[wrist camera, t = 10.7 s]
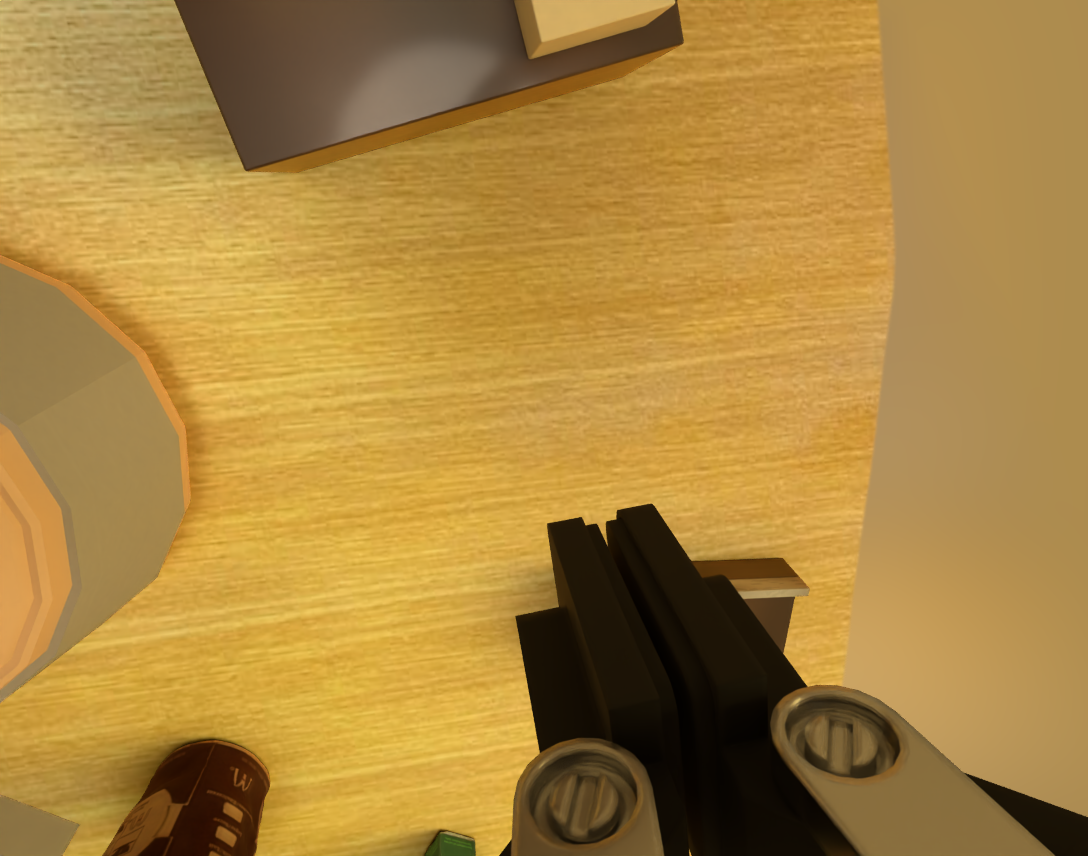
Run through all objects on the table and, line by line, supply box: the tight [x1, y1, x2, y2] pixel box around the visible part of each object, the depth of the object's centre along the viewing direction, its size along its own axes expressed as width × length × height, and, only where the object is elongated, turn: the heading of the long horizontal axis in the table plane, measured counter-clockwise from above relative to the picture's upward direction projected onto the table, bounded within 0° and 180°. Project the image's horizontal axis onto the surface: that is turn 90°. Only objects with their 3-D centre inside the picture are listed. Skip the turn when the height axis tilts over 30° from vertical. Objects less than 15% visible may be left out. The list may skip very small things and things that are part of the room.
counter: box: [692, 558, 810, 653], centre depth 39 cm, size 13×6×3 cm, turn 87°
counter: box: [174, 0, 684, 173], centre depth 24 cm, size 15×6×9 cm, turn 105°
